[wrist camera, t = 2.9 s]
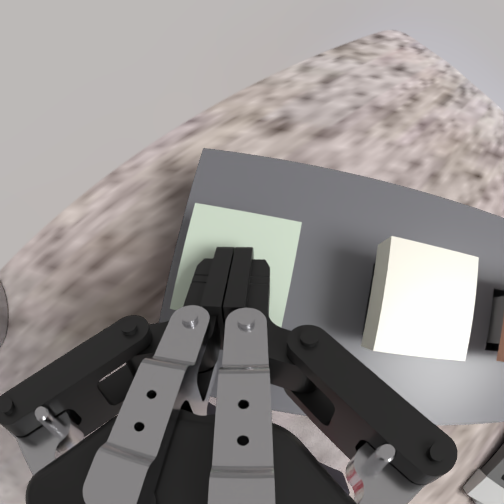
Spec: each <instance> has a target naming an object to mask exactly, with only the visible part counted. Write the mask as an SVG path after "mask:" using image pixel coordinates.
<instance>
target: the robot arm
mask: <svg viewBox="0 0 504 504" xmlns="http://www.w3.org/2000/svg"><path fill="white" fill-rule="evenodd" d="M269 302H270V266H269V265H268V263H267V261H266V260H265V259H254V250H253V247H217V248H216V251H215V254H214V258H204V259H203V260H202V261H201V262H200V263H199V264H198V265H197V267H196V270H195V273H194V276H193V278H192V283H191V284H190V287H189V290H188V293H187V296H186V299H185V302H184V305H183V307H182V308H179V309H178V310H176V311H175V312H174V313H173V315H172V316H171V318H170V320H169V321H166V322H162V323H156V324H151V325H148V322H147V321H146V319H144V318H143V317H141V316H137V315H131V316H127V317H124V318H122V319H120V320H119V321H117V322H115V323H114V324H112V325H111V326H109V327H107V328H106V329H104V330H103V331H101V332H99V333H98V334H96V335H95V336H93V337H92V338H90V339H88V340H87V341H85V342H84V343H82V344H80V345H79V346H77V347H76V348H74V349H73V350H71V351H69V352H68V353H66V354H65V355H63V356H62V357H60V358H58V359H57V360H55V361H54V362H52V363H51V364H49V365H47V366H46V367H44V368H43V369H41V370H40V371H38V372H37V373H35V374H33V375H32V376H30V377H29V378H27V379H26V380H24V381H23V382H21V383H20V384H18V385H16V386H15V387H13V388H12V389H10V390H9V391H7V392H6V393H4V394H3V395H1V396H0V424H2V425H3V426H4V427H5V428H6V429H7V430H9V431H10V433H11V434H12V435H13V436H14V437H15V438H16V439H17V442H18V444H19V446H20V449H21V451H22V453H23V455H24V458H25V460H26V462H27V464H28V466H29V468H30V470H31V472H32V474H33V477H32V478H31V480H30V481H29V484H28V486H27V490H26V504H408V503H409V502H410V501H411V500H412V499H413V498H414V497H415V495H416V494H417V493H418V492H419V491H420V490H421V489H422V488H423V487H425V486H427V485H428V484H430V483H432V482H433V481H435V480H436V479H438V478H439V477H441V476H443V475H444V474H446V473H447V472H449V471H450V470H451V469H452V467H453V466H454V464H455V462H456V460H457V448H456V445H455V443H454V441H453V440H452V439H451V438H450V437H449V436H448V435H447V434H446V433H444V432H443V431H442V430H441V429H440V428H438V427H437V426H436V425H435V424H434V423H432V422H431V421H430V420H429V419H428V418H426V417H425V416H424V415H423V414H422V413H421V412H419V411H418V410H417V409H416V408H415V407H413V406H412V405H411V404H410V403H409V402H408V401H406V400H405V399H404V398H403V397H402V396H400V395H399V394H398V393H397V392H396V391H395V390H393V389H392V388H391V387H390V386H389V385H388V384H386V383H385V382H384V381H383V380H382V379H380V378H379V377H378V376H377V375H376V374H375V373H373V372H372V371H371V370H370V369H369V368H368V367H366V366H365V365H364V364H363V363H362V362H361V361H359V360H358V359H357V358H356V357H355V356H354V355H352V354H351V353H350V352H349V351H348V350H347V349H345V348H344V347H343V346H342V345H341V344H340V343H339V342H337V341H336V340H335V339H334V338H333V337H332V336H330V335H329V334H328V333H327V332H326V331H325V330H323V329H322V328H320V327H318V326H314V325H301V326H298V327H296V328H294V329H293V330H292V331H291V330H287V329H284V328H281V327H279V326H277V325H276V324H274V323H273V322H272V321H271V319H270V318H269ZM7 325H8V307H7V301H6V296H5V292H4V289H3V287H2V285H1V282H0V347H1V345H2V343H3V341H4V338H5V336H6V331H7ZM219 350H223V360H222V368H220V369H219V374H218V387H217V400H216V414H212V415H207V405H208V401H209V398H210V394H211V390H212V387H213V383H214V379H215V376H216V372H217V368H218V361H217V360H218V356H219ZM125 362H126V365H125V366H123V367H122V368H120V369H119V370H117V371H116V372H114V373H113V374H111V375H110V376H108V377H107V378H105V379H104V380H102V381H101V382H99V381H100V380H101V379H102V378H103V377H105V376H106V375H108V374H109V373H111V372H112V371H114V370H115V369H117V368H118V367H119V366H121V365H122V364H124V363H125ZM270 384H272V385H276V386H279V387H282V388H284V391H285V393H286V394H287V395H288V396H289V397H290V398H291V399H292V400H293V402H294V403H295V404H296V405H297V406H298V407H299V408H300V409H301V410H302V411H303V412H304V413H305V414H306V415H307V416H308V417H309V418H310V420H311V421H312V422H313V423H314V424H315V425H316V426H317V427H318V428H319V429H320V430H321V431H322V432H323V433H324V434H325V435H326V436H327V437H328V438H329V439H330V440H331V441H332V442H333V443H334V444H335V445H336V446H337V447H338V448H339V449H340V450H341V451H342V452H343V453H344V454H345V455H346V456H347V457H348V458H349V459H350V462H349V463H348V465H347V467H346V478H347V480H348V482H349V484H350V485H351V486H352V488H353V490H354V494H355V498H354V500H353V499H352V498H351V497H350V496H349V495H348V494H347V492H346V491H345V490H344V489H343V488H342V487H341V486H340V485H339V484H338V483H337V482H336V481H335V480H334V478H333V477H332V476H331V475H330V474H329V473H328V472H327V471H326V470H325V468H324V467H323V466H322V465H321V464H320V463H319V462H318V461H317V459H316V458H315V457H314V456H313V455H312V454H311V453H310V451H309V450H308V449H307V448H306V447H305V446H304V444H303V443H302V442H301V441H300V440H299V439H298V438H297V437H296V436H295V435H294V434H292V433H291V432H290V431H288V430H287V429H285V428H283V427H281V426H279V425H277V424H274V423H272V413H271V389H270ZM117 414H118V415H117ZM116 415H117V416H116ZM114 416H115V417H114ZM107 421H108V422H107ZM104 423H105V424H104ZM103 424H104V425H103ZM101 425H102V426H101ZM100 426H101V427H100ZM98 427H100V428H98ZM97 428H98V429H97ZM95 429H97V430H96V431H94V430H95ZM93 431H94V432H93ZM91 432H93V433H91ZM90 433H91V434H90ZM88 434H90V435H89V436H87V435H88ZM85 436H87V437H86V438H85V439H84V437H85Z"/></svg>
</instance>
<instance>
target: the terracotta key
mask: <svg viewBox="0 0 504 504" xmlns="http://www.w3.org/2000/svg"><path fill="white" fill-rule="evenodd" d="M487 343H497V344H499V349H498V354H497V359H496V361H501V362H504V296H501V297H493V300H492V309H491V317H490V324H489V330H488V337H487Z"/></svg>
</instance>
